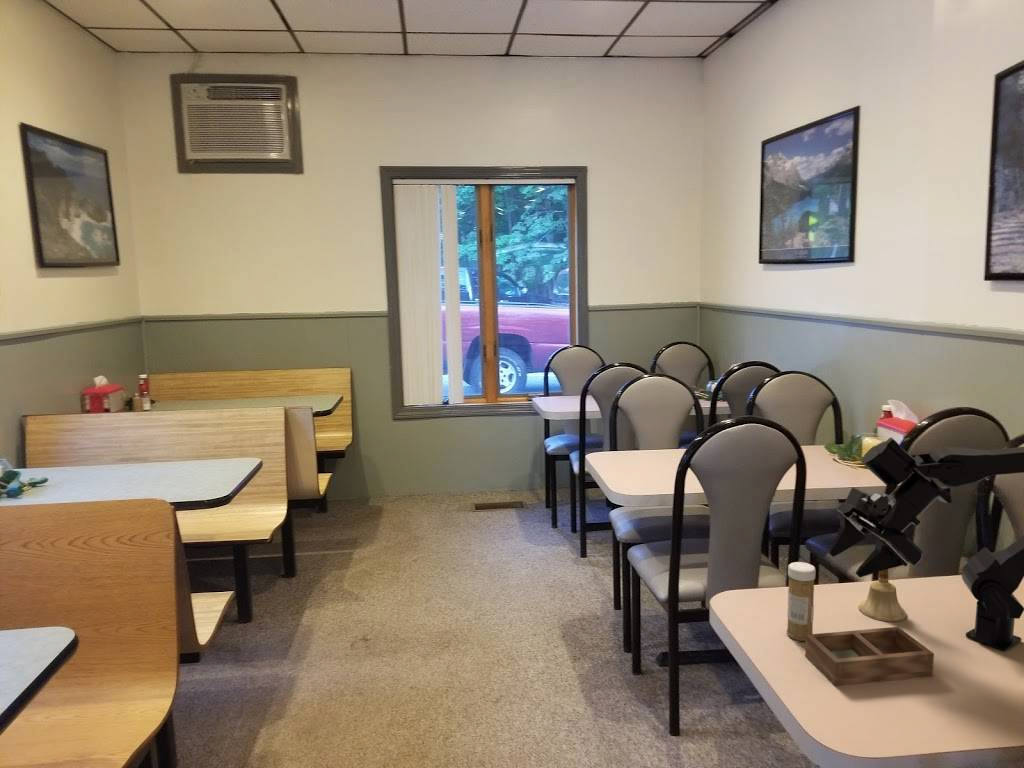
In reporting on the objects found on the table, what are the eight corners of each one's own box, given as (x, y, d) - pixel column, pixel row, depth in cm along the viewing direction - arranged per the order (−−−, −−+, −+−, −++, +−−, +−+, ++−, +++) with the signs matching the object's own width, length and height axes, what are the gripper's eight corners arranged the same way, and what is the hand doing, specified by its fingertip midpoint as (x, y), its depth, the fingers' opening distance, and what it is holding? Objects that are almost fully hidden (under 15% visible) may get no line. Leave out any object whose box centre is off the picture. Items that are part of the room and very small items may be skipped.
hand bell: (859, 617, 136) (863, 538, 134) (857, 599, 144) (861, 523, 142) (908, 625, 133) (914, 543, 131) (903, 605, 141) (908, 528, 138)
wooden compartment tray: (896, 648, 125) (898, 626, 125) (932, 676, 116) (934, 653, 116) (805, 656, 123) (806, 634, 123) (834, 685, 115) (835, 662, 114)
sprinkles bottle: (818, 637, 130) (821, 567, 128) (802, 644, 127) (805, 573, 125) (795, 627, 133) (798, 558, 131) (780, 634, 131) (783, 565, 129)
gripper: (849, 460, 136) (790, 518, 137) (909, 489, 117) (841, 556, 118) (886, 498, 137) (828, 555, 138) (952, 532, 119) (884, 598, 120)
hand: (843, 564), depth 129 cm, fingers open, 9 cm apart
